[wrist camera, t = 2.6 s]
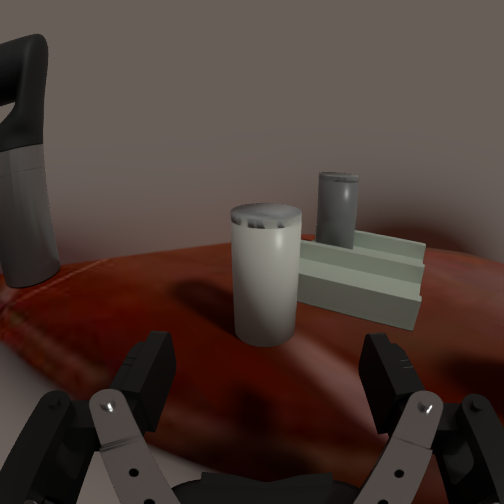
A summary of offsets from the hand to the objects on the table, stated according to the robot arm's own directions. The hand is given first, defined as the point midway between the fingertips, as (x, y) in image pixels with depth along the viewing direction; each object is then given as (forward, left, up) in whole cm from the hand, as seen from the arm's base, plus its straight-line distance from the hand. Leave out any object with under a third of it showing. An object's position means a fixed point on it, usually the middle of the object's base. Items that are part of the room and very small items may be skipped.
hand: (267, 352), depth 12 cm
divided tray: (-2, +24, -7) cm, 25 cm away
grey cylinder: (-6, +28, -6) cm, 29 cm away
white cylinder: (-6, +10, -7) cm, 13 cm away
